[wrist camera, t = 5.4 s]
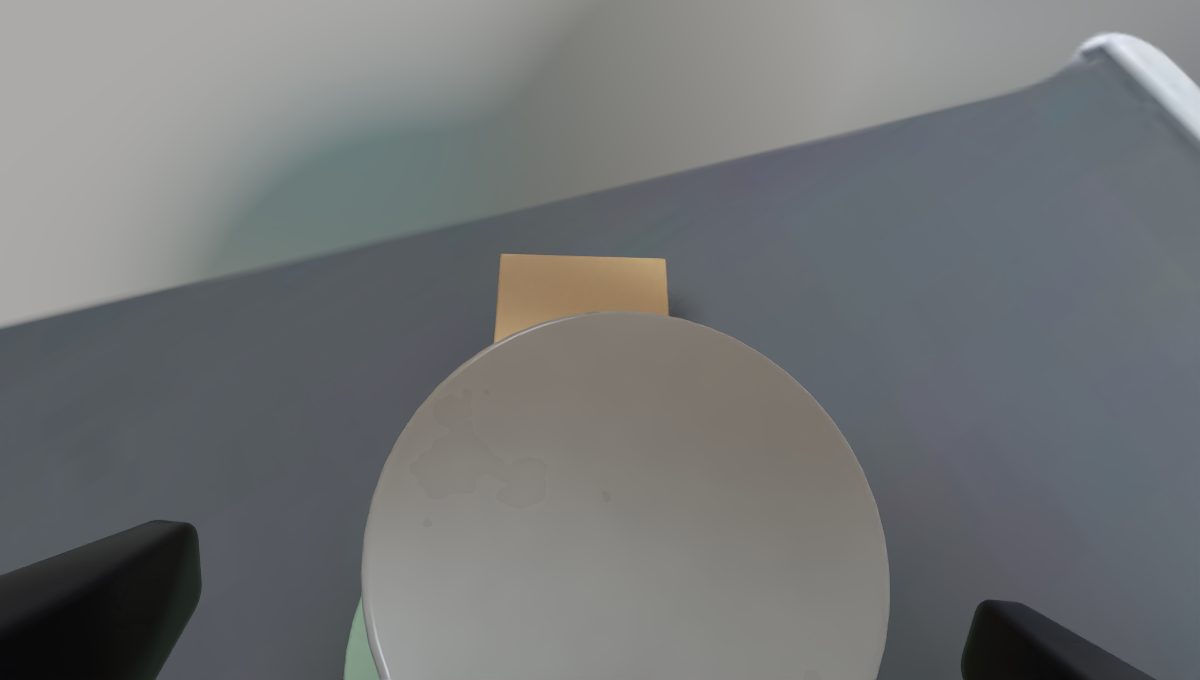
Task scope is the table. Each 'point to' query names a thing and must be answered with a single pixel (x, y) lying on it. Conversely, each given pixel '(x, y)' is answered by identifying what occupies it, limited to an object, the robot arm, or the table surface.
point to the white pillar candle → (620, 503)
